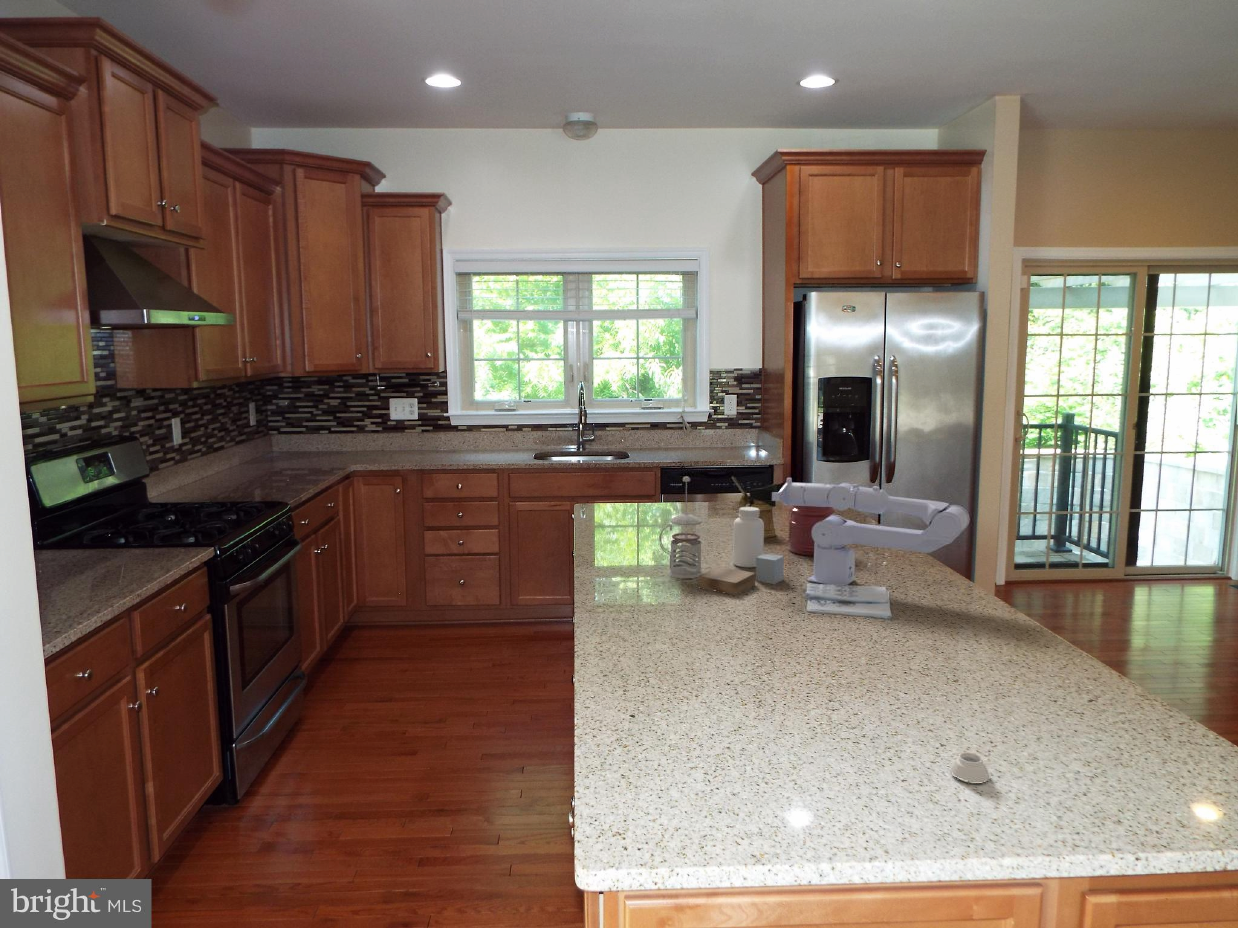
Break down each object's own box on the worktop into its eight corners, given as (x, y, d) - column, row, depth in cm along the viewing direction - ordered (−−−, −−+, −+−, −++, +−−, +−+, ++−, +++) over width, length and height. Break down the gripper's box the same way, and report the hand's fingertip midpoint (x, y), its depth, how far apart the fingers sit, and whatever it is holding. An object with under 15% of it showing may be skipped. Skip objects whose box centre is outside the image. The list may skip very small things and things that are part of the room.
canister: (831, 545, 247) (833, 484, 244) (838, 557, 234) (840, 493, 231) (785, 544, 248) (787, 484, 245) (789, 556, 235) (791, 492, 233)
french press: (702, 579, 213) (704, 480, 209) (656, 577, 216) (656, 478, 212) (706, 568, 223) (708, 473, 219) (662, 566, 225) (662, 472, 221)
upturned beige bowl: (956, 764, 122) (945, 778, 119) (957, 745, 122) (946, 758, 118) (993, 775, 119) (983, 790, 116) (994, 755, 119) (984, 770, 115)
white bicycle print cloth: (889, 594, 203) (889, 585, 202) (892, 622, 183) (892, 612, 183) (806, 588, 208) (806, 579, 207) (800, 615, 188) (801, 605, 188)
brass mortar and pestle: (728, 531, 264) (729, 473, 262) (772, 531, 265) (774, 473, 262) (732, 538, 256) (733, 478, 253) (778, 538, 256) (779, 478, 253)
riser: (755, 584, 208) (755, 573, 208) (735, 595, 200) (735, 582, 200) (718, 578, 214) (718, 566, 214) (698, 588, 206) (698, 575, 206)
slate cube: (783, 579, 213) (783, 556, 212) (774, 584, 209) (775, 560, 208) (764, 576, 216) (765, 553, 215) (755, 580, 212) (756, 557, 211)
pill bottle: (762, 560, 231) (763, 505, 228) (764, 568, 223) (765, 512, 220) (732, 559, 231) (733, 505, 229) (733, 568, 224) (734, 511, 221)
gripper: (817, 475, 218) (767, 474, 225) (796, 481, 206) (744, 479, 213) (817, 503, 219) (767, 500, 226) (796, 510, 207) (744, 507, 214)
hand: (756, 492), depth 220 cm, fingers open, 7 cm apart
